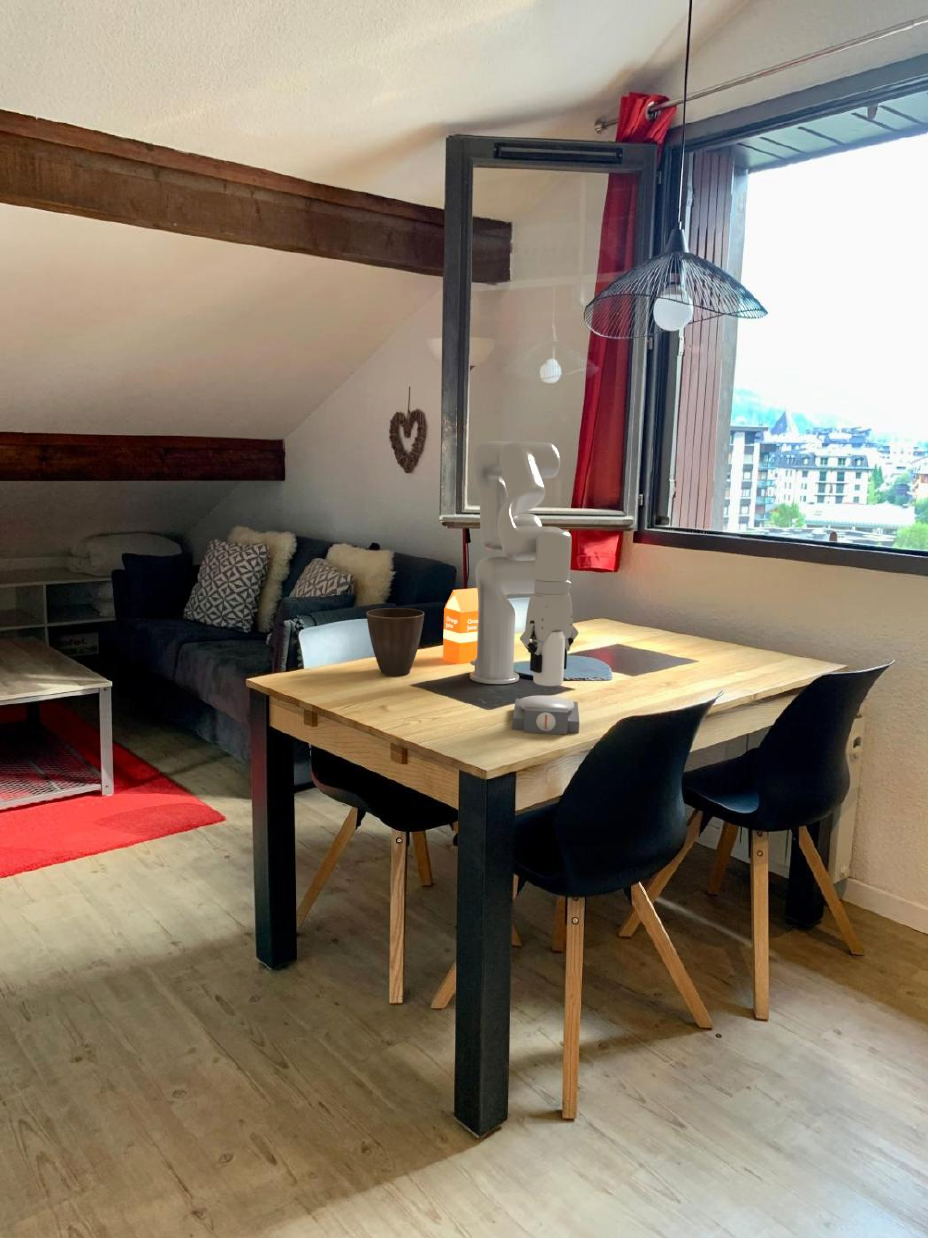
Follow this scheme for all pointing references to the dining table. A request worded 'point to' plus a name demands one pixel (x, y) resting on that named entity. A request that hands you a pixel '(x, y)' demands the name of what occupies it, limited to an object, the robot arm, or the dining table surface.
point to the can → (552, 661)
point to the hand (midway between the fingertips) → (548, 669)
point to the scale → (546, 715)
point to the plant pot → (395, 638)
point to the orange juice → (461, 626)
